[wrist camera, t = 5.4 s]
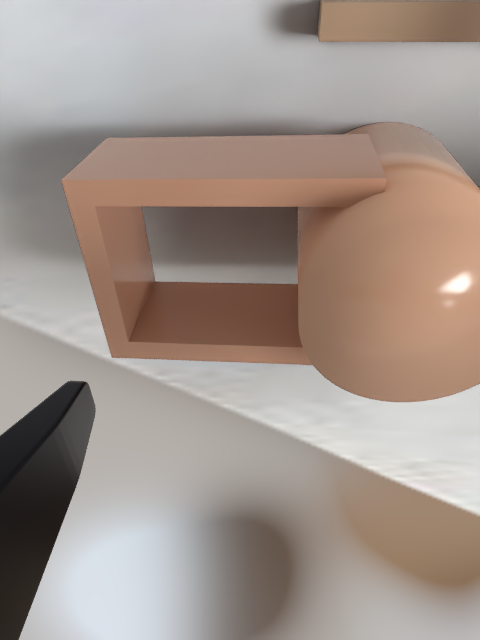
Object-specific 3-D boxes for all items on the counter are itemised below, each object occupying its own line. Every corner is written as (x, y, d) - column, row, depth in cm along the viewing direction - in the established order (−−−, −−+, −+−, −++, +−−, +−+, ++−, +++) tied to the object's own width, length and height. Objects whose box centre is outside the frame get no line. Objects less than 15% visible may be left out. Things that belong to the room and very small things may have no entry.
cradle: (642, -3, 14) (674, 1, 13) (495, 337, 22) (506, 357, 21) (320, -1, 15) (322, 2, 14) (294, 326, 23) (293, 345, 22)
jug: (515, 113, 16) (651, 207, 10) (465, 275, 21) (539, 412, 14) (125, 120, 18) (32, 206, 12) (152, 270, 22) (94, 392, 16)
